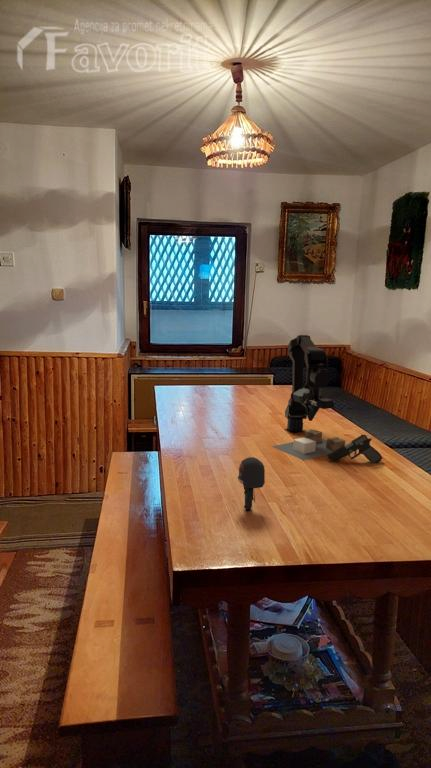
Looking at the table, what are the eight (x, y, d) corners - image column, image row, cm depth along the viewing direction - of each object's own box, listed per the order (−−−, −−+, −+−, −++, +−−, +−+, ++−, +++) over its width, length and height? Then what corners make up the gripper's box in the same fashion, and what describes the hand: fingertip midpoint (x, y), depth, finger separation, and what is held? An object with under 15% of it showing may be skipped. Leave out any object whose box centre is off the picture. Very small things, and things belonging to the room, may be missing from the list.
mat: (271, 447, 196) (271, 446, 196) (317, 437, 210) (317, 437, 210) (303, 461, 181) (303, 460, 181) (351, 449, 196) (351, 448, 196)
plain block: (292, 449, 193) (293, 439, 192) (304, 447, 196) (304, 437, 196) (303, 453, 188) (304, 443, 187) (315, 451, 191) (315, 441, 191)
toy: (234, 502, 145) (236, 452, 142) (260, 501, 146) (263, 453, 143) (238, 516, 136) (240, 464, 133) (266, 516, 137) (269, 464, 134)
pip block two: (326, 448, 196) (326, 437, 195) (335, 446, 198) (336, 436, 197) (334, 451, 192) (335, 441, 191) (344, 450, 194) (345, 440, 193)
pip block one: (304, 440, 205) (305, 430, 204) (311, 438, 208) (312, 428, 207) (314, 443, 201) (315, 433, 200) (321, 441, 205) (322, 431, 204)
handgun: (382, 457, 182) (366, 430, 180) (384, 458, 181) (368, 432, 178) (341, 480, 184) (325, 454, 182) (343, 482, 182) (327, 456, 180)
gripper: (281, 379, 195) (279, 417, 199) (315, 388, 180) (312, 430, 184) (302, 376, 202) (299, 413, 205) (337, 386, 186) (333, 425, 190)
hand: (310, 420), depth 196 cm, fingers closed
